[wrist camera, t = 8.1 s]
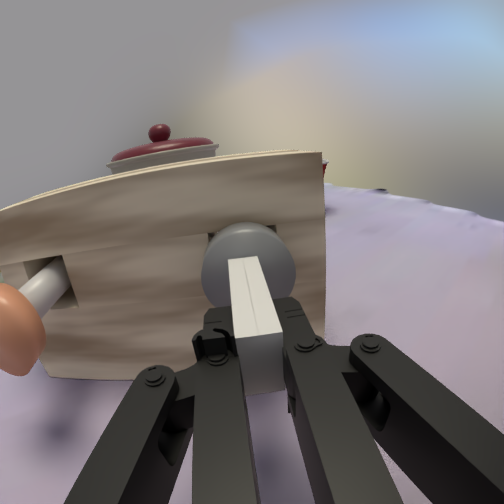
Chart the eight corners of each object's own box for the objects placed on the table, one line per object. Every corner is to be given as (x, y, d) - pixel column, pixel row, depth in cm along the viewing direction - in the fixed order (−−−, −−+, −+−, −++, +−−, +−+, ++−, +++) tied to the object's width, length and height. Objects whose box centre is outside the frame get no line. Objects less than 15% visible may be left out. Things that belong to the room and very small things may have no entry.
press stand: (84, 319, 29) (47, 191, 24) (295, 297, 30) (285, 149, 25) (49, 376, 20) (-15, 216, 14) (323, 359, 21) (321, 152, 16)
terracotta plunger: (63, 287, 22) (47, 235, 21) (109, 282, 23) (94, 225, 21) (-7, 372, 11) (-43, 300, 9) (46, 379, 11) (4, 297, 10)
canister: (136, 242, 56) (118, 137, 48) (225, 228, 58) (212, 121, 51) (115, 281, 39) (85, 133, 31) (238, 261, 41) (220, 107, 34)
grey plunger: (214, 250, 27) (206, 197, 26) (267, 243, 28) (262, 190, 26) (209, 323, 16) (193, 238, 14) (297, 311, 16) (293, 226, 15)
